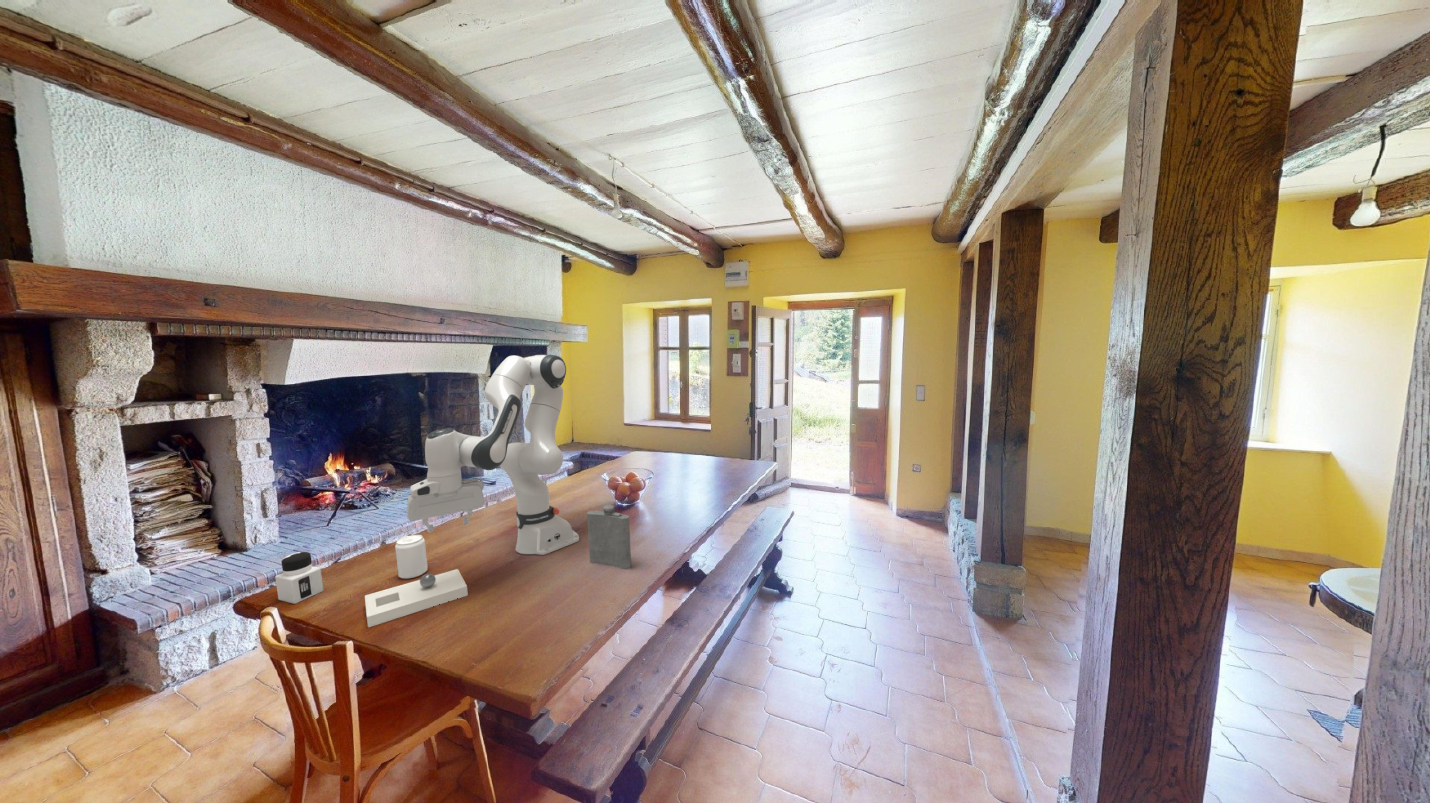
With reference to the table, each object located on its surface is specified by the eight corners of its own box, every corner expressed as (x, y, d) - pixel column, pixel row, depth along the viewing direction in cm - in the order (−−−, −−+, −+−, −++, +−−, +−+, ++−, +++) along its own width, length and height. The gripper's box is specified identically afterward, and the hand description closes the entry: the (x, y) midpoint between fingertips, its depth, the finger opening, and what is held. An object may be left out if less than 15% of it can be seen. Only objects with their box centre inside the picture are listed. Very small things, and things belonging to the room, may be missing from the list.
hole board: (458, 577, 148) (457, 568, 148) (467, 595, 137) (466, 585, 137) (365, 605, 133) (364, 595, 133) (368, 627, 122) (366, 617, 122)
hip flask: (587, 562, 157) (584, 506, 154) (595, 557, 161) (592, 502, 158) (627, 569, 151) (625, 511, 149) (634, 564, 155) (631, 507, 152)
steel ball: (435, 582, 139) (433, 569, 139) (437, 587, 136) (436, 574, 136) (419, 586, 137) (418, 574, 136) (421, 592, 134) (420, 579, 133)
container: (324, 590, 141) (318, 551, 140) (294, 604, 134) (288, 562, 133) (308, 587, 144) (302, 547, 142) (278, 600, 137) (271, 559, 135)
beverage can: (413, 580, 146) (409, 545, 145) (392, 578, 148) (388, 543, 147) (433, 568, 154) (430, 534, 153) (413, 566, 156) (409, 533, 154)
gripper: (480, 474, 146) (483, 516, 148) (404, 487, 134) (408, 532, 135) (485, 478, 141) (488, 521, 143) (406, 492, 129) (410, 539, 130)
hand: (448, 527), depth 139 cm, fingers open, 8 cm apart
